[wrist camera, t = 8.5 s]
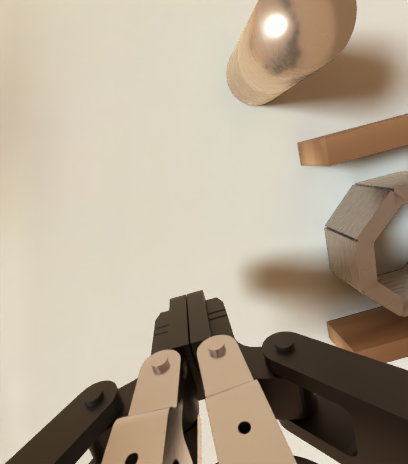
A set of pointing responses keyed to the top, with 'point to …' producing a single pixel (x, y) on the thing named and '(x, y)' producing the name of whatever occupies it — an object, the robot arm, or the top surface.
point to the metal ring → (368, 239)
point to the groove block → (382, 319)
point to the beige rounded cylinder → (287, 45)
